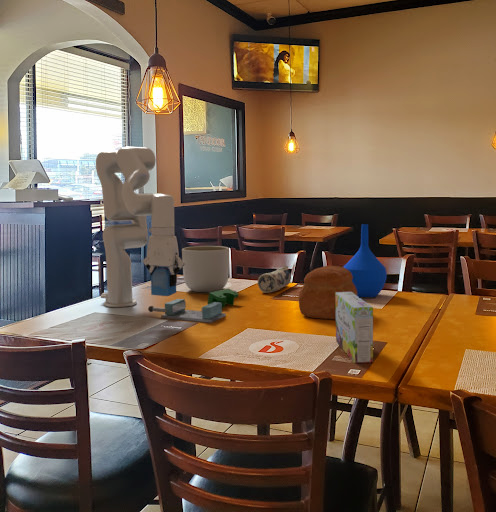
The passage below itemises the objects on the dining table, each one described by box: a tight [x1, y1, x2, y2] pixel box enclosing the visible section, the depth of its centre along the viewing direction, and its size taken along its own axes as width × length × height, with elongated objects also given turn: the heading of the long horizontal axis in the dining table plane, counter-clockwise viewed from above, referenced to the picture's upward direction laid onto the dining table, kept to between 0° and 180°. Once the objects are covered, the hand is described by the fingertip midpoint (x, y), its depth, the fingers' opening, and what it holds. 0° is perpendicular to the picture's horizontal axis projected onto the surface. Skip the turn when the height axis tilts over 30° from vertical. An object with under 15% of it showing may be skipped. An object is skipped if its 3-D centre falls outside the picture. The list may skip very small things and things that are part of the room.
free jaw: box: [147, 298, 187, 315], centre depth 203 cm, size 10×10×4 cm
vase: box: [343, 223, 388, 298], centre depth 233 cm, size 18×18×30 cm
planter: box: [181, 245, 230, 294], centre depth 250 cm, size 21×21×19 cm
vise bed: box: [160, 302, 226, 324], centre depth 199 cm, size 20×11×5 cm, turn 67°
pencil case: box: [257, 265, 292, 294], centre depth 250 cm, size 22×8×10 cm, turn 156°
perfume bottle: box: [150, 266, 177, 297], centre depth 189 cm, size 6×6×12 cm
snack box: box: [335, 292, 374, 364], centre depth 155 cm, size 21×6×15 cm, turn 5°
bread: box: [298, 265, 357, 320], centre depth 202 cm, size 18×22×17 cm
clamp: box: [207, 288, 239, 309], centre depth 218 cm, size 12×6×9 cm, turn 134°
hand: (163, 284), depth 189 cm, fingers closed on perfume bottle, 6 cm apart
